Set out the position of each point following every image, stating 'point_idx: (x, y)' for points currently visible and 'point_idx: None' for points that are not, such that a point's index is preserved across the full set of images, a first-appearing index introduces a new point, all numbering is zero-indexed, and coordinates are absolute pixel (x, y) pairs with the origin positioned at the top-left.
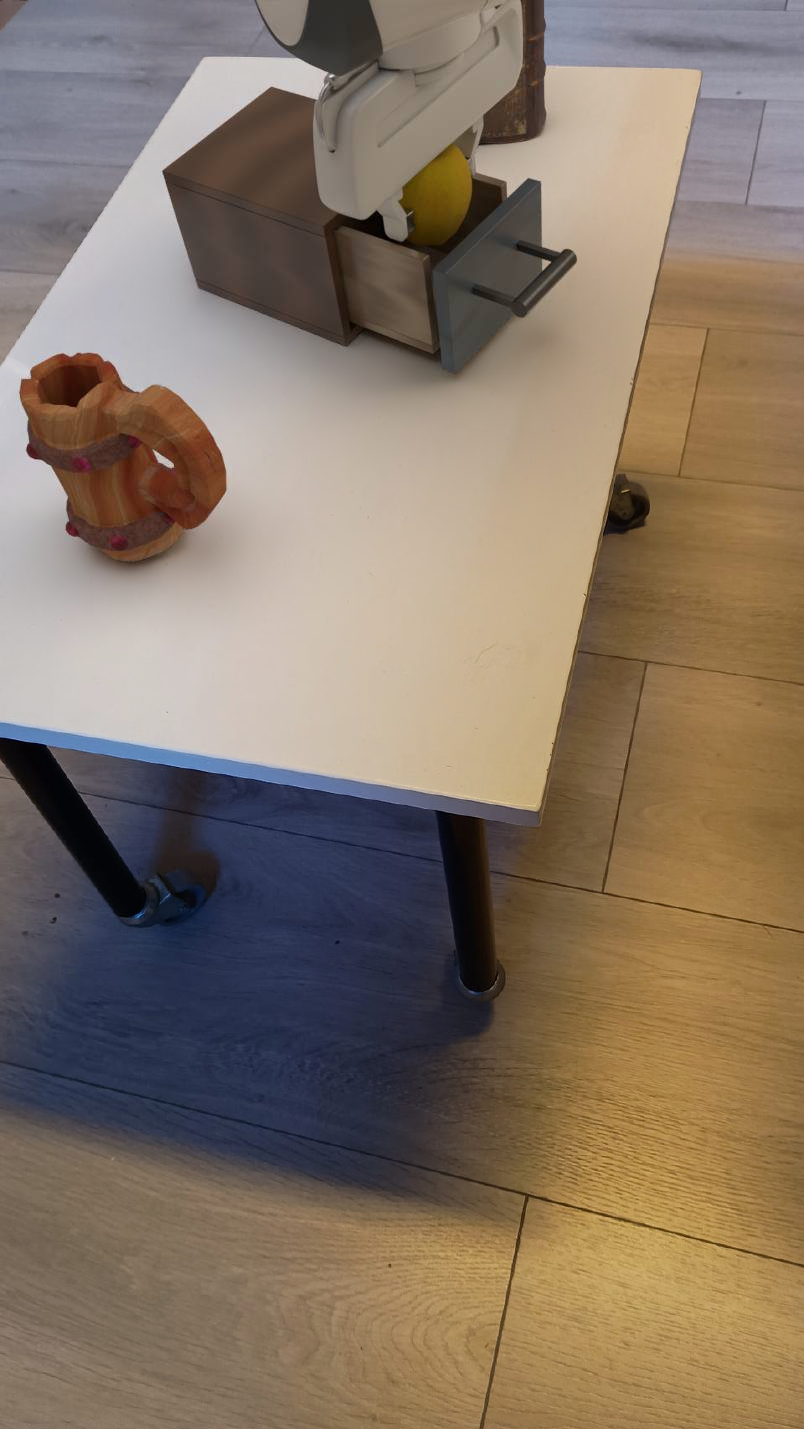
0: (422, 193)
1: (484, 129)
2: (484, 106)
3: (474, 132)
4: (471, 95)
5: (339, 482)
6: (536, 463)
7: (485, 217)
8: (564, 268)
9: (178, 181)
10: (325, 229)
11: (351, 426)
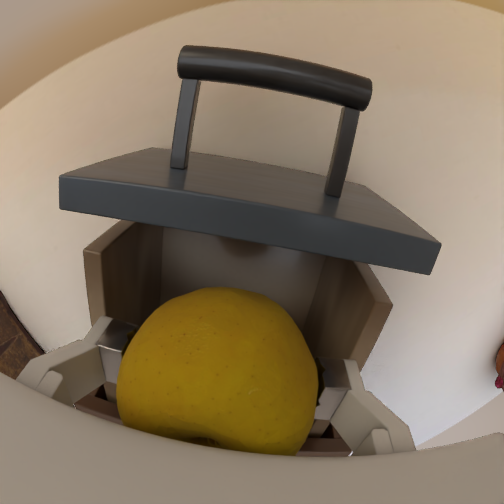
0: (312, 403)
1: (3, 316)
2: (8, 398)
3: (59, 374)
4: (29, 473)
5: (493, 244)
6: (443, 58)
7: (133, 258)
8: (229, 48)
9: None
10: (347, 446)
11: (436, 266)
